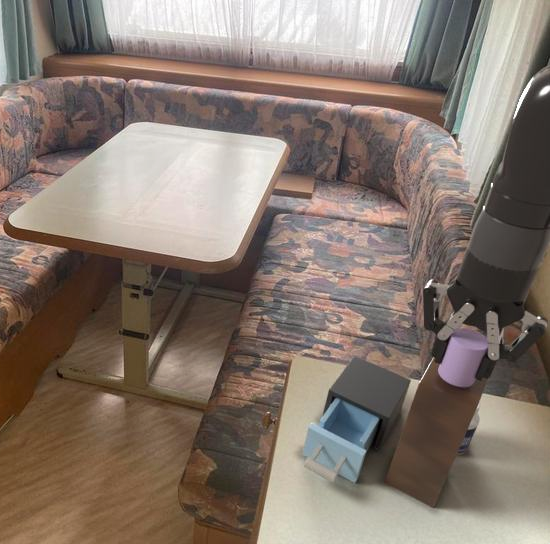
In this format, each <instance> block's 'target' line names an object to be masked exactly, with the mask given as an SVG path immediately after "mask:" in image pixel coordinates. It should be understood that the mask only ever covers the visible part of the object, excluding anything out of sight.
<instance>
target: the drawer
mask: <svg viewBox="0 0 550 544" xmlns="http://www.w3.org/2000/svg"><path fill="white" fill-rule="evenodd" d="M322 416H323V415H322ZM381 420H382V419H381V418H379V417H377V416H375V415H372V414H370V413H368V412H366V411H364V410H362V409H360V408H358V407H356V406H353V405H351V404H349V403H347V402H345V401H343V400H341V399H339V398H337V397H336V399H335V400H334V401H333V403H332V404H331V406H330V407H329V409H328V410H327V411H326V413H325V414H324V416H323V417H321V418H320V420H319V422H318V425H317V424H315V423H314V422H311V423H310V424H309V426H308V428H307V432H306V436H305V441H304V445H303V449H302V454H301V455H302V456H303V457H305V458H306V459H305V461H304V463H303V467H304V468H306V469H308V471H309V470H310V471H311V472H313V473H315V474H316V475H318V476H320V477H322V478H324V479H325V480H327V481H328V482H329V481H330V482H331V483H333V484H335V483H336V480H337V479H338V476H341V477H342V478H345V479H346V480H348V481H350V482H351V483H354V484H356V483H357V481H358V479H359V476H360V473H361V470H362V467H363V463H364V461H365V457H366V455H367V452H368V450H369V449H370V447H371V445H372V444H373V442H374V440H375V437H376V434H377V432H378V429H379V426H380V422H381Z"/></svg>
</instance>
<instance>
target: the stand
mask: <svg viewBox="0 0 550 544" xmlns="http://www.w3.org/2000/svg"><path fill="white" fill-rule="evenodd" d="M434 361H435V358H434V357H432V358H431V360H430V363H429V364H428V366H427V367H426V369H425V371H424V374H423V375H422V377H421V378H420V381H419V382H418V385H417V387H416V392H415V394H414V396H413V399H412V402H411V405H410V408H409V411H408V412H407V413H408V414H407V416H406V419H405V422H404V425H403V428H402V430H401V434H400V436H399V439H398V442H397V444H396V449H395V450H394V453H393V456H392V459H391V462H390V465H389V468H388V471H387V473H386V476H385V478H384V483H385V484H386V485H388V486H390V487H392V488H394V489H396V490H398V491H399V492H401V493H403V494H405V495H407V496H409V497H411V498H413V499H415V500H416V501H418V502H421V503H423V504H424V505H426V506H428V507H430V508H432V509H434V507H435V506H436V504H437V501H438V499H439V497H440V494H441V491H442V489H443V488H444V485H445V482H446V481H447V478H448V476H449V474H450V471H451V470H452V469H451V468H452V466H453V464H454V462H455V459H456V457H457V456H458V455H457V453H458V450H459V448H460V446H461V443H462V441H463V439H464V437H465V434H466V432H467V430H468V427H469V425H470V423H471V420H472V418H473V416H474V414H475V411H476V409H477V407H478V404H479V402H480V401H481V399H482V397H483V394H484V392H485V389H486V386H487V384H488V381H489V378H490V377H489V378H488V379H486V378H484V377H483V378H482V381H480V380H477V379H476V380H475V382H474V384H473V385H471V386H469V387H458V386H454V385H452V384H449V383H448V382H446V381H445V380H443V379H442V378H441V377H440V375H439V373H438V368H439V366H440V364H438V363H436V362H434Z"/></svg>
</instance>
